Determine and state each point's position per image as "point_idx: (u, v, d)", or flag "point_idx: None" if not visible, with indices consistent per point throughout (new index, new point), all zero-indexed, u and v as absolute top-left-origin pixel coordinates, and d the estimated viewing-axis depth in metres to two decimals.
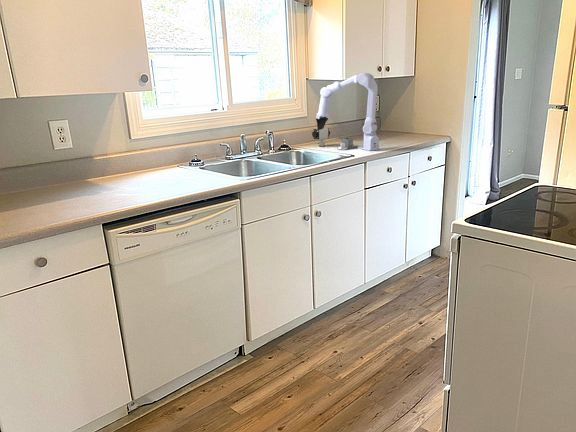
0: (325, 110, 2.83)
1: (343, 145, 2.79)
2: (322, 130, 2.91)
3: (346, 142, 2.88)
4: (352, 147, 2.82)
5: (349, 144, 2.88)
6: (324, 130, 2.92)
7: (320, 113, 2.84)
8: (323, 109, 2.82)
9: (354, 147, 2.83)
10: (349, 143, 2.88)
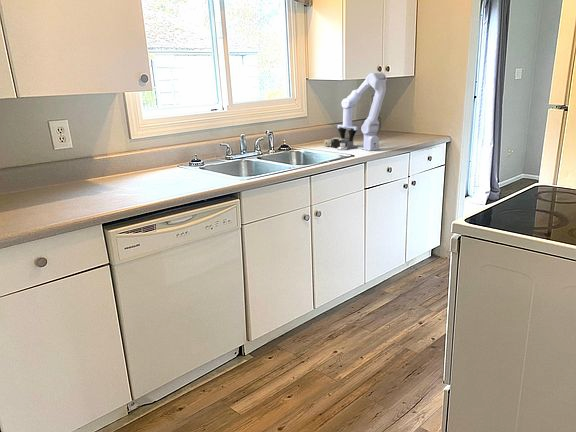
0: None
1: (343, 145, 2.79)
2: None
3: (346, 142, 2.88)
4: (352, 147, 2.82)
5: (349, 144, 2.88)
6: None
7: (350, 125, 2.85)
8: (351, 120, 2.85)
9: (354, 147, 2.83)
10: (349, 143, 2.88)
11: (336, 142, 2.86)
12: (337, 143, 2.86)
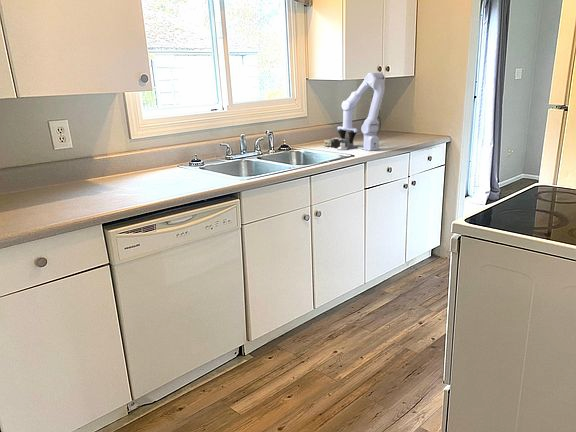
0: None
1: (343, 145, 2.79)
2: None
3: (346, 142, 2.88)
4: (352, 147, 2.82)
5: (349, 144, 2.88)
6: None
7: (350, 127, 2.86)
8: (351, 122, 2.86)
9: (354, 147, 2.83)
10: (349, 143, 2.88)
11: (336, 142, 2.86)
12: (337, 143, 2.86)
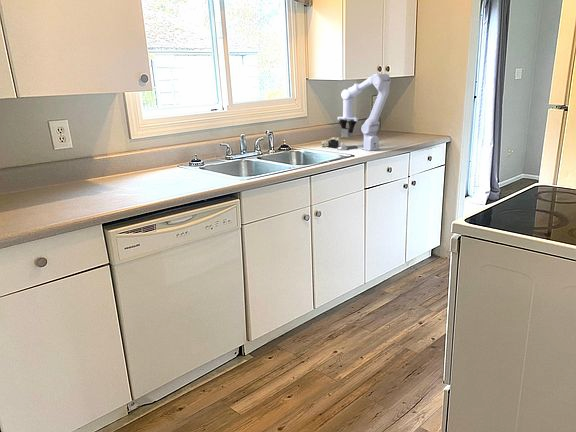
0: None
1: (343, 145, 2.79)
2: None
3: (346, 132, 2.85)
4: (352, 147, 2.82)
5: (349, 134, 2.86)
6: None
7: (350, 116, 2.83)
8: None
9: (354, 147, 2.83)
10: (349, 133, 2.86)
11: (333, 142, 2.86)
12: (334, 143, 2.86)
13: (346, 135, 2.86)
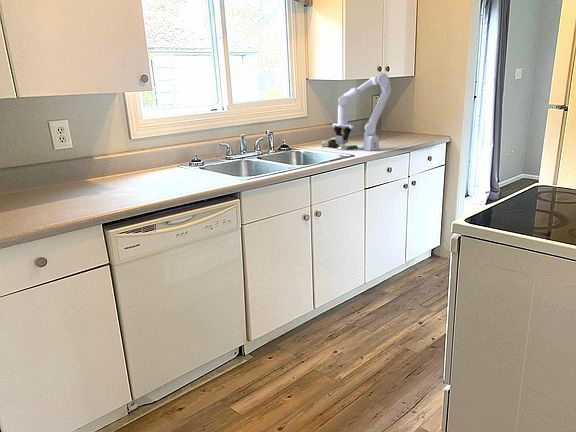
0: None
1: (343, 145, 2.79)
2: None
3: (340, 139, 2.76)
4: (352, 147, 2.82)
5: (343, 141, 2.77)
6: None
7: (345, 123, 2.74)
8: (347, 118, 2.74)
9: (354, 147, 2.83)
10: (343, 140, 2.76)
11: (333, 142, 2.86)
12: (334, 143, 2.86)
13: (341, 142, 2.76)
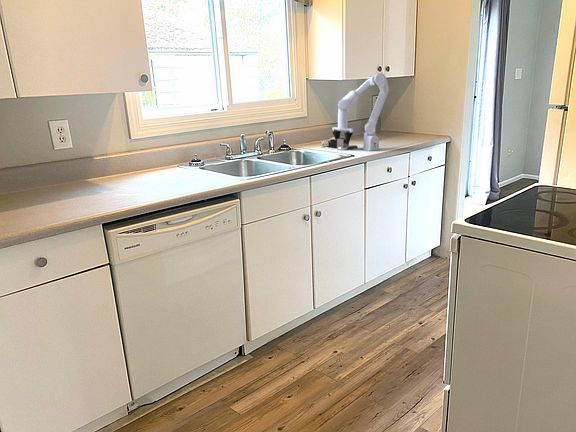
0: None
1: None
2: None
3: (341, 142, 2.77)
4: (352, 147, 2.82)
5: (345, 144, 2.78)
6: None
7: (345, 127, 2.75)
8: (347, 122, 2.75)
9: (354, 147, 2.83)
10: (345, 143, 2.78)
11: (333, 142, 2.86)
12: (334, 143, 2.86)
13: (342, 145, 2.78)
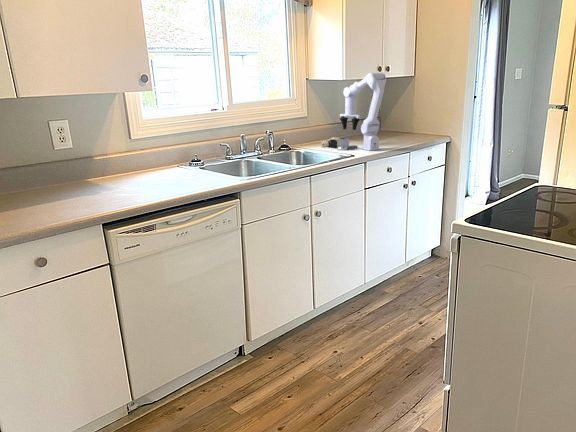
0: None
1: None
2: None
3: (341, 142, 2.77)
4: (352, 147, 2.82)
5: (345, 144, 2.78)
6: None
7: (352, 113, 2.87)
8: (354, 108, 2.88)
9: (354, 147, 2.83)
10: (345, 143, 2.77)
11: (333, 142, 2.86)
12: (334, 143, 2.86)
13: (342, 145, 2.77)
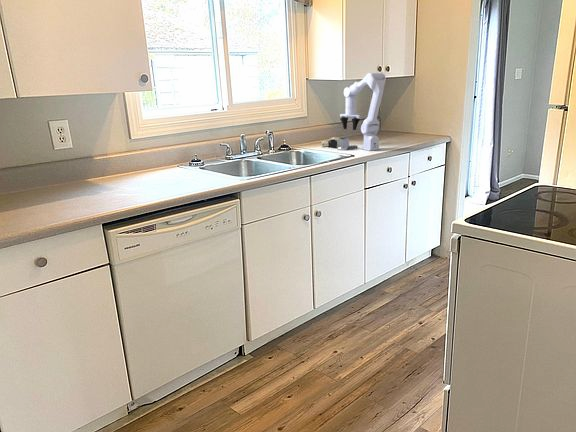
0: (354, 109, 2.89)
1: None
2: None
3: (341, 142, 2.77)
4: (352, 147, 2.82)
5: (344, 144, 2.78)
6: None
7: (353, 113, 2.88)
8: (354, 109, 2.88)
9: (354, 147, 2.83)
10: (344, 143, 2.77)
11: (333, 142, 2.86)
12: (334, 143, 2.86)
13: (342, 145, 2.78)
